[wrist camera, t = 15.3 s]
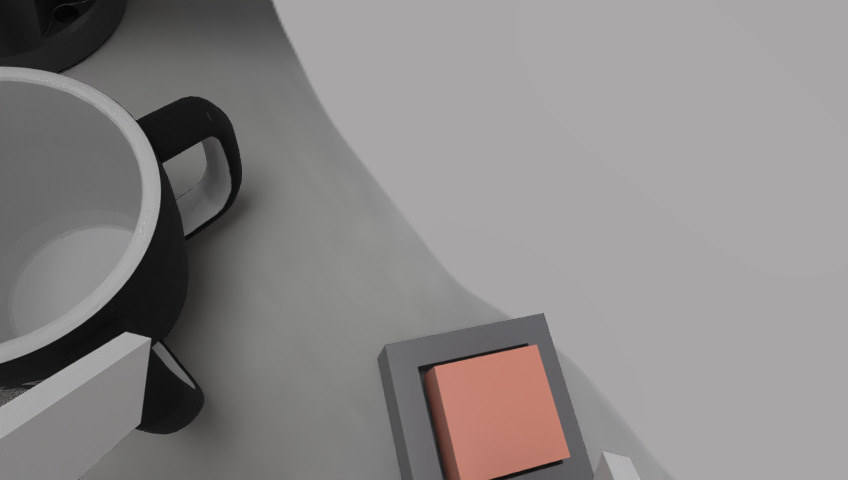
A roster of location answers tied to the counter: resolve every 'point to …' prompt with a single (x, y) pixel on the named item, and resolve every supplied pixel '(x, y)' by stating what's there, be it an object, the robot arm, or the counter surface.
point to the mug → (101, 230)
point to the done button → (494, 415)
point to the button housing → (418, 356)
